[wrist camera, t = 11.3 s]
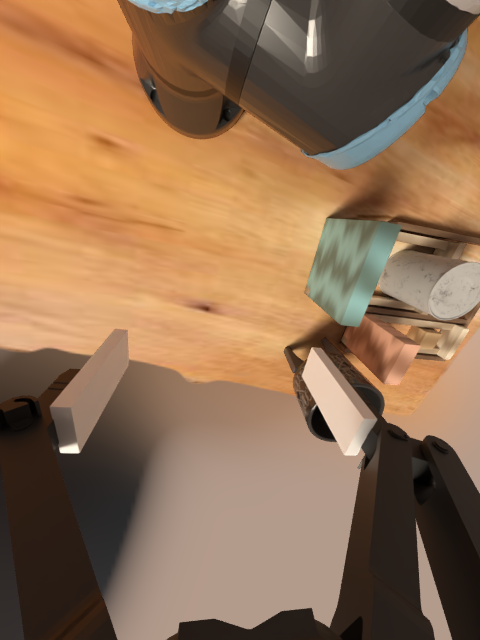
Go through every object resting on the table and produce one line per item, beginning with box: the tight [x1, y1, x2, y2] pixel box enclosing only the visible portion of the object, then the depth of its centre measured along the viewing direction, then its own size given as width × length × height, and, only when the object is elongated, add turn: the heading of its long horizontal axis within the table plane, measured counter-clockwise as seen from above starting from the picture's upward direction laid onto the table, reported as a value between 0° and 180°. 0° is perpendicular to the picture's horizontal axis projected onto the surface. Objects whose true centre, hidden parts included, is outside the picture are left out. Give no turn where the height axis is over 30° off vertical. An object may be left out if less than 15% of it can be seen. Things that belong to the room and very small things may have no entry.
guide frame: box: [339, 221, 480, 361], centre depth 48 cm, size 27×27×2 cm
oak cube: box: [407, 326, 442, 350], centre depth 52 cm, size 4×4×4 cm
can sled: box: [305, 218, 467, 327], centre depth 39 cm, size 14×26×14 cm, turn 80°
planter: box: [284, 338, 385, 442], centre depth 45 cm, size 13×13×18 cm
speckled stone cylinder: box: [378, 250, 480, 320], centre depth 41 cm, size 10×10×12 cm
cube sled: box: [341, 312, 470, 385], centre depth 46 cm, size 8×26×14 cm, turn 80°
